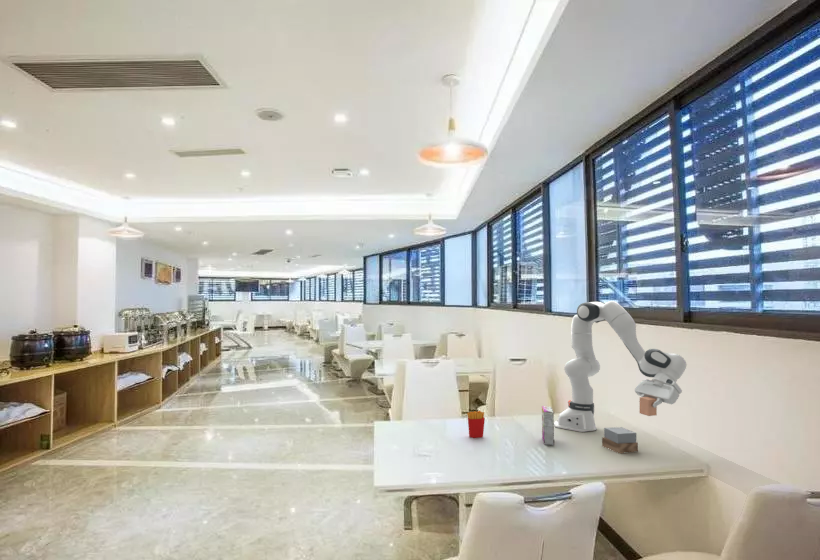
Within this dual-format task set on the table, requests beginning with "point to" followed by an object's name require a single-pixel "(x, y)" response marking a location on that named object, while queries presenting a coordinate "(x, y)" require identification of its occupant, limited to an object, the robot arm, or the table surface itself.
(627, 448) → the walnut slab
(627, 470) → the table surface
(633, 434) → the charcoal slab
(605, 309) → the robot arm
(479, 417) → the french fries
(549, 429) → the candy bar box
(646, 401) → the terracotta block
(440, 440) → the table surface
